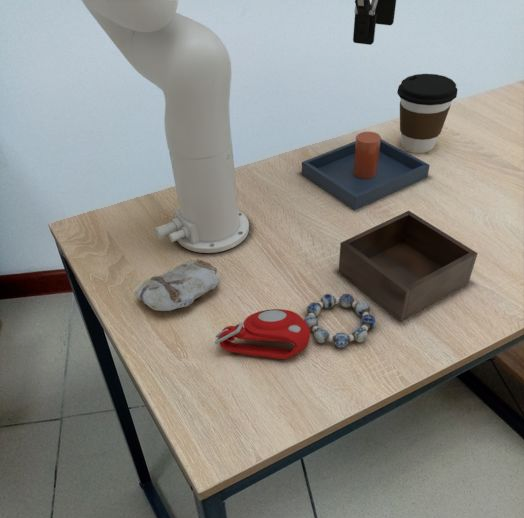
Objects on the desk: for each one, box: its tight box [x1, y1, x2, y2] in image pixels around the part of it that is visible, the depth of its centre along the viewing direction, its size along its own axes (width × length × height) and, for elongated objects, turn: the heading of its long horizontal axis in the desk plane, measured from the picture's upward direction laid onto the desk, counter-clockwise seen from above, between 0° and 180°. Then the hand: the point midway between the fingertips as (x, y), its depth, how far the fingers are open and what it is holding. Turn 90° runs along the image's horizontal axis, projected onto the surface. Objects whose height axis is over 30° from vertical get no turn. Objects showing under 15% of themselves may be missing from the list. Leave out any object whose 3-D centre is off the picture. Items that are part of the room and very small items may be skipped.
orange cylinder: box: [353, 131, 382, 179], centre depth 97 cm, size 4×4×7 cm
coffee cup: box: [396, 73, 458, 154], centre depth 102 cm, size 11×11×12 cm
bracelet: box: [303, 293, 376, 349], centre depth 73 cm, size 10×10×2 cm
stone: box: [135, 258, 220, 312], centre depth 79 cm, size 12×9×3 cm
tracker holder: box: [214, 308, 311, 360], centre depth 71 cm, size 12×4×10 cm
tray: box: [301, 138, 431, 211], centre depth 99 cm, size 18×16×2 cm
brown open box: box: [338, 210, 478, 322], centre depth 78 cm, size 14×14×6 cm
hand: (373, 33), depth 85 cm, fingers open, 9 cm apart
